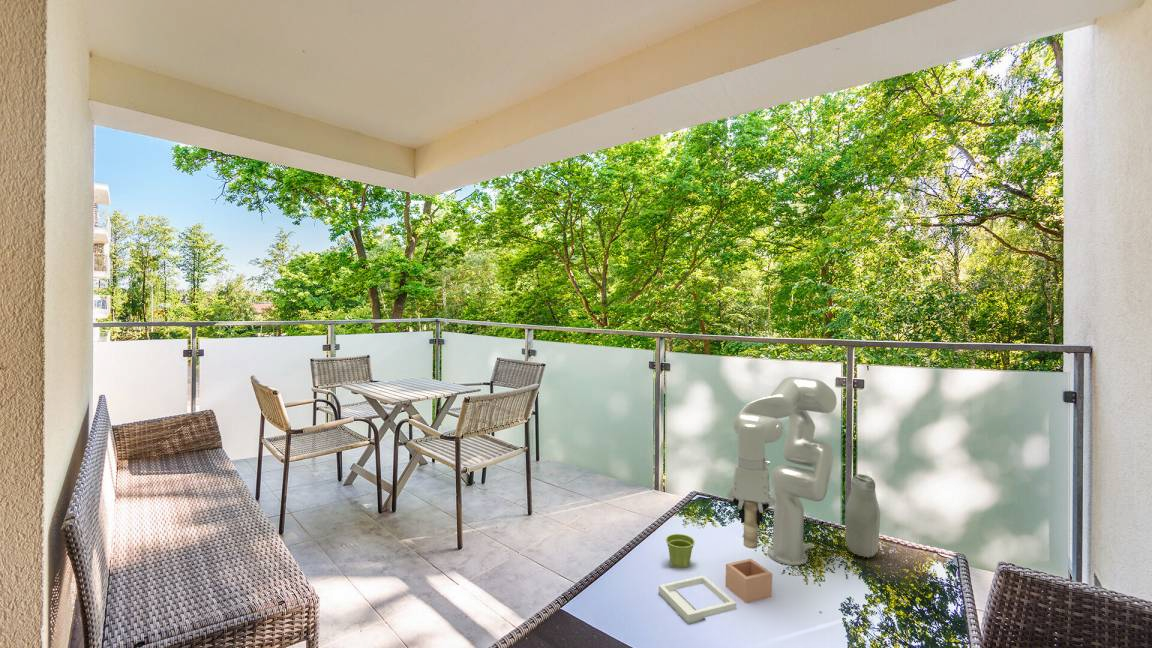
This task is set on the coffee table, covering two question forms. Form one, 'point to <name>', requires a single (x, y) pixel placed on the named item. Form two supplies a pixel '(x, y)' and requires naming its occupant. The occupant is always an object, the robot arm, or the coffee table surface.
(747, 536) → the birch dowel
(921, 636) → the coffee table surface
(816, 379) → the robot arm
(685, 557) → the plant pot
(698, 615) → the cream tray
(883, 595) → the coffee table surface
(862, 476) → the grey bottle
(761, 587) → the terracotta cup
